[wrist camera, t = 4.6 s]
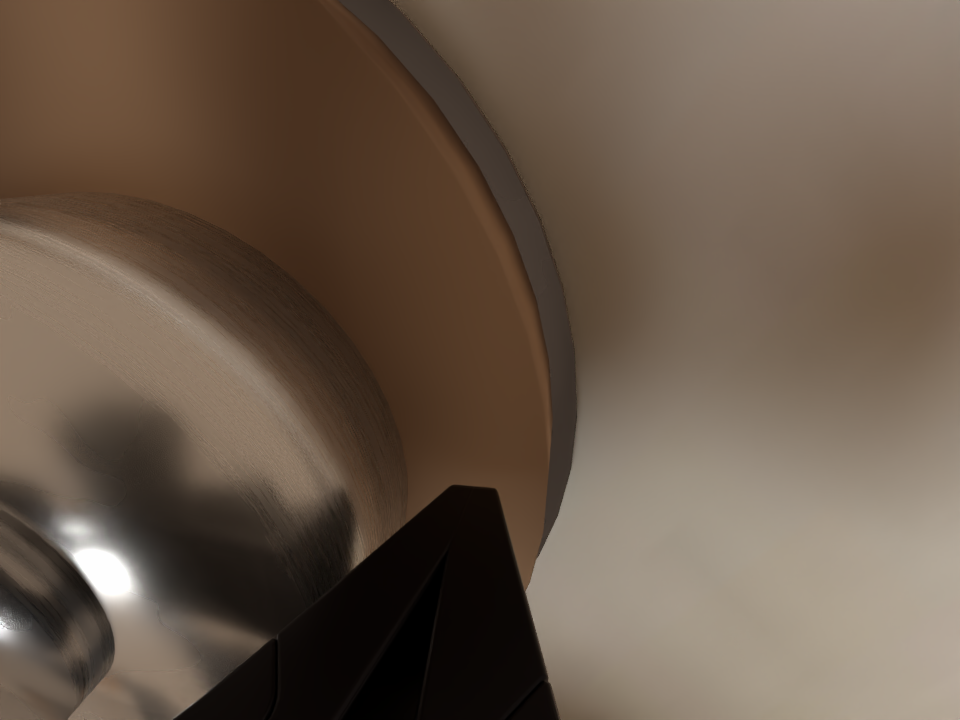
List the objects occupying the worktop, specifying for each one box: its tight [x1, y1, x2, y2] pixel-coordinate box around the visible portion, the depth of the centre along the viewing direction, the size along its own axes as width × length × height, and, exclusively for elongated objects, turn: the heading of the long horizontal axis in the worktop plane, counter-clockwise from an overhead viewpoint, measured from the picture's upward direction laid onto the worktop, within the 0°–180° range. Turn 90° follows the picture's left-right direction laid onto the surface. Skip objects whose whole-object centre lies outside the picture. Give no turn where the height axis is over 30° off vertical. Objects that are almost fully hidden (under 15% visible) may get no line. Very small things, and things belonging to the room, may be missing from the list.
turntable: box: [0, 0, 553, 591], centre depth 9 cm, size 20×20×6 cm
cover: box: [0, 192, 408, 720], centre depth 8 cm, size 10×10×4 cm
